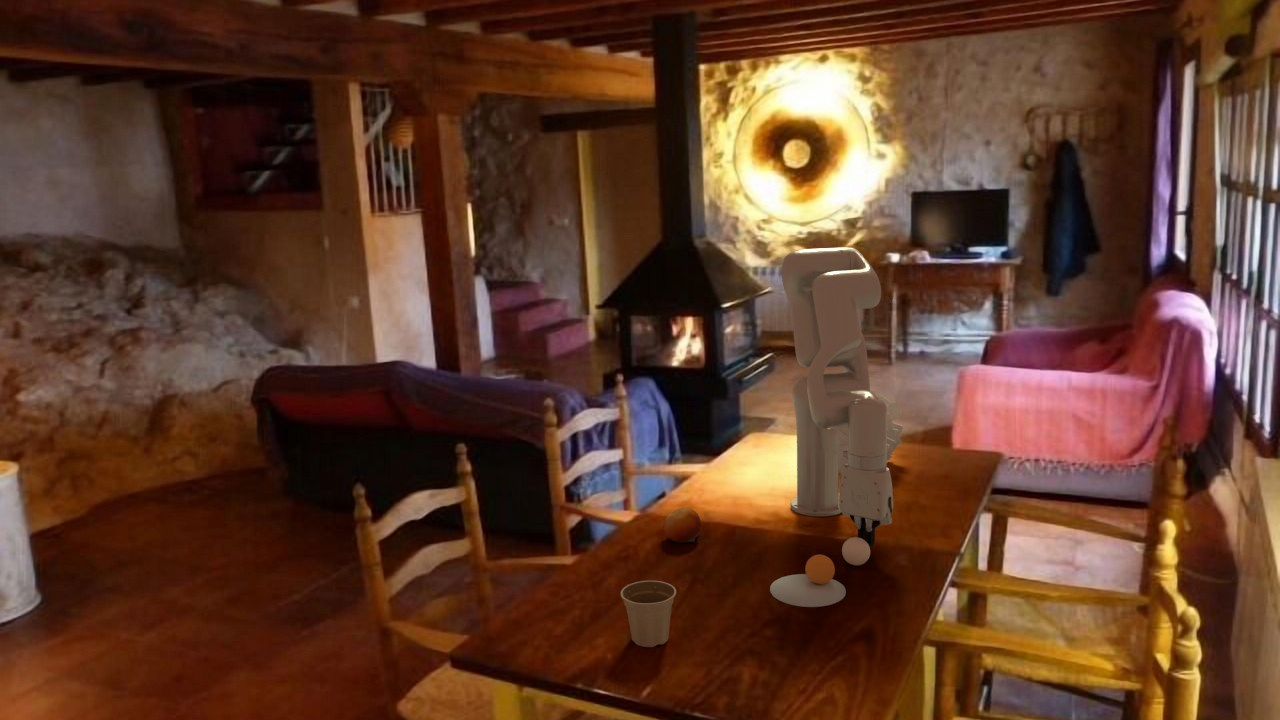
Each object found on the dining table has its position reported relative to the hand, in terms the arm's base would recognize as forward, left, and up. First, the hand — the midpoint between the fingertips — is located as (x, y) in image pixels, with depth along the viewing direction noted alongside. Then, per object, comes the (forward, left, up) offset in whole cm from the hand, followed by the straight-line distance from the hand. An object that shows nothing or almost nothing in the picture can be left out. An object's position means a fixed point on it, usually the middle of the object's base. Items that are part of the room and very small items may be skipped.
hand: (866, 546), depth 194 cm
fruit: (0, -39, -2) cm, 39 cm away
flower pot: (+45, -33, -2) cm, 56 cm away
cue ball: (+6, -2, +1) cm, 6 cm away
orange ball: (+16, -7, +1) cm, 18 cm away
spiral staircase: (-58, -5, -2) cm, 58 cm away
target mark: (+20, -9, -2) cm, 22 cm away
